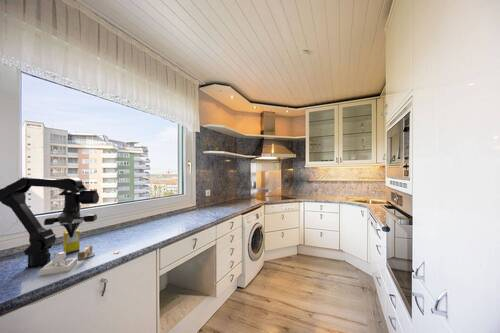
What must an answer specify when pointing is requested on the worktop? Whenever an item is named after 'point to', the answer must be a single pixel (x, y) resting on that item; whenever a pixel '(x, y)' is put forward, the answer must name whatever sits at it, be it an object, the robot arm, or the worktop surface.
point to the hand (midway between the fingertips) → (71, 237)
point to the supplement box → (71, 242)
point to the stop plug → (60, 259)
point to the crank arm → (84, 253)
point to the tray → (54, 270)
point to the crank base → (94, 254)
